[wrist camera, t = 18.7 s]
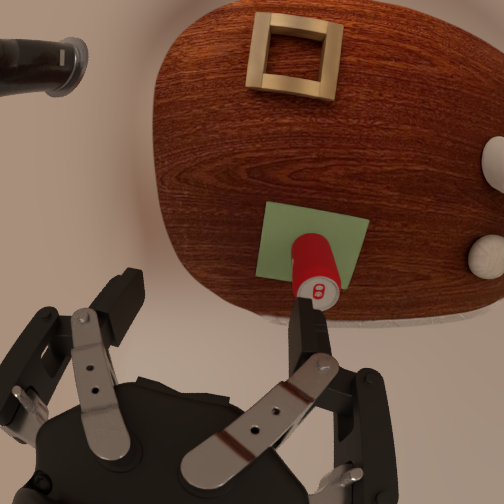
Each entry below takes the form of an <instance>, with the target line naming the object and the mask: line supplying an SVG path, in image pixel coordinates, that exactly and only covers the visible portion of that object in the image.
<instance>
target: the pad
mask: <svg viewBox="0 0 504 504" xmlns="http://www.w3.org/2000/svg"><path fill="white" fill-rule="evenodd" d="M368 224H369V220H368V219H363V218H359V217H354V216H349V215H343V214H338V213H333V212H328V211H322V210H317V209H311V208H305V207H299V206H293V205H287V204H281V203H275V202H268V201H267V202H266V209H265V216H264V223H263V230H262V236H261V243H260V250H259V257H258V263H257V270H256V276H259V277H265V278H272V279H278V280H285V281H291V282H292V264H291V247H292V245H293V243H294V241H295V240H296V239H297V238H298V237H299V236H301V235H303V234H306V233H317V234H320V235H322V236H324V237H325V238H326V239H327V240H328V242H329V244H330V247H331V250H332V253H333V256H334V259H335V262H336V266H337V269H338V272H339V276H340V279H341V289H347V288H348V285H349V282H350V279H351V277H352V274H353V271H354V268H355V265H356V262H357V259H358V256H359V253H360V250H361V247H362V244H363V240H364V237H365V234H366V231H367V227H368Z"/></svg>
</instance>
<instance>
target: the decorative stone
mask: <svg viewBox="0 0 504 504" xmlns="http://www.w3.org/2000/svg"><path fill="white" fill-rule="evenodd" d="M468 265H469V268H470V270H471V271H472V273H473V274H475V275H476V276H478V277H480V278H484V279H493V278H497V277H499V276H501V275H502V274H503V273H504V238H503V237H501V236H498V235H486V236H483V237H481V238H480V239H478V240H477V241H476V242H475V243H474V244H473V246H472V247H471V249H470V252H469V256H468Z"/></svg>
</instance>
